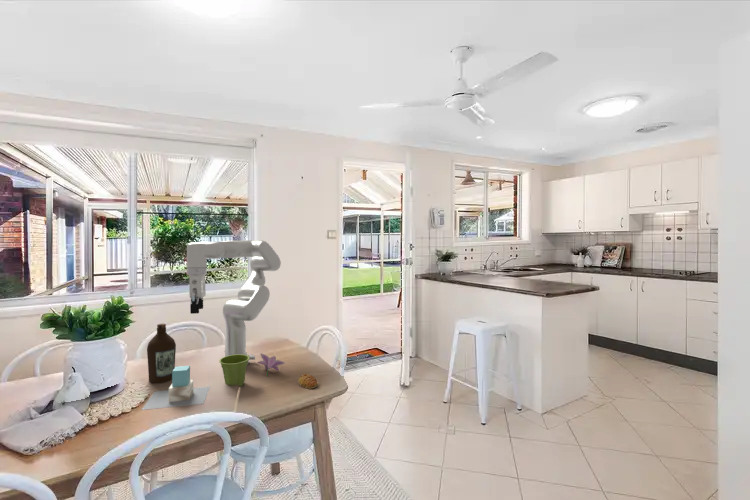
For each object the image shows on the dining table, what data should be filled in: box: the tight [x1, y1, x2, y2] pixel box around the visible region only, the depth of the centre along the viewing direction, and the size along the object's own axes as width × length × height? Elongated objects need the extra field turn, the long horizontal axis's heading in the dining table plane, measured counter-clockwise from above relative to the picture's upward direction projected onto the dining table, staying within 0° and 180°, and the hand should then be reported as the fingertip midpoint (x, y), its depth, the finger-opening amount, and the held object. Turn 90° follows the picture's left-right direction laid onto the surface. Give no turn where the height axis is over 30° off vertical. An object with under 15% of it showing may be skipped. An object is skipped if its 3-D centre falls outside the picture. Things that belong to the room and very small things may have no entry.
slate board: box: [141, 386, 211, 411], centre depth 140 cm, size 20×16×2 cm
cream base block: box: [168, 379, 194, 402], centre depth 140 cm, size 7×7×5 cm
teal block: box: [171, 365, 191, 387], centre depth 140 cm, size 5×5×6 cm
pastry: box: [297, 373, 319, 390], centre depth 157 cm, size 9×7×4 cm
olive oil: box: [146, 323, 177, 385], centre depth 157 cm, size 11×11×25 cm
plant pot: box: [219, 354, 250, 387], centre depth 155 cm, size 12×12×11 cm
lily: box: [256, 353, 286, 377], centre depth 169 cm, size 12×12×10 cm
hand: (197, 311), depth 159 cm, fingers open, 9 cm apart
